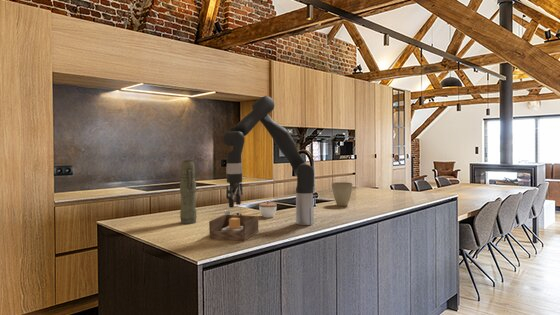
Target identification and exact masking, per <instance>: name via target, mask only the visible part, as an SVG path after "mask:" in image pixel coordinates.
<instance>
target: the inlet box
mask: <svg viewBox="0 0 560 315" xmlns="http://www.w3.org/2000/svg"><path fill="white" fill-rule="evenodd" d="M231 218H240V228H239V229H229V219H231ZM208 223H209V228H208V230H209V233H208V234H209V237H208V238H209V239H217V240H218V239H219V240H229V241H243V242H246V241H247V240H249V239H250V238H251V237H253V236H255V235H256V234H258V233H259V216H258V215H247V214H244V215H243V214H242V215H240V214H239V215H237V214H231V215H229V214H225V213H224V214H223V215H221V216H219V217H216V218H213V219H212V220H209V222H208Z"/></svg>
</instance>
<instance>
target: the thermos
mask: <svg viewBox="0 0 560 315" xmlns="http://www.w3.org/2000/svg"><path fill="white" fill-rule="evenodd" d="M195 169H196V168H195V163H194V161H193V160H183V161H181V165H180V175H181V176H180V180H179V192H180V212H179V214H180V216H179V217H180V224H181V225H192V224H196V223H197V218H198V217H197V209H196V193H197V192H196V191H197V182H196V178H195V174H196V172H195Z"/></svg>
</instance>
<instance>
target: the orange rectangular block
mask: <svg viewBox="0 0 560 315" xmlns="http://www.w3.org/2000/svg"><path fill="white" fill-rule="evenodd" d="M239 228H240V218H231V219H229V229H239Z"/></svg>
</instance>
